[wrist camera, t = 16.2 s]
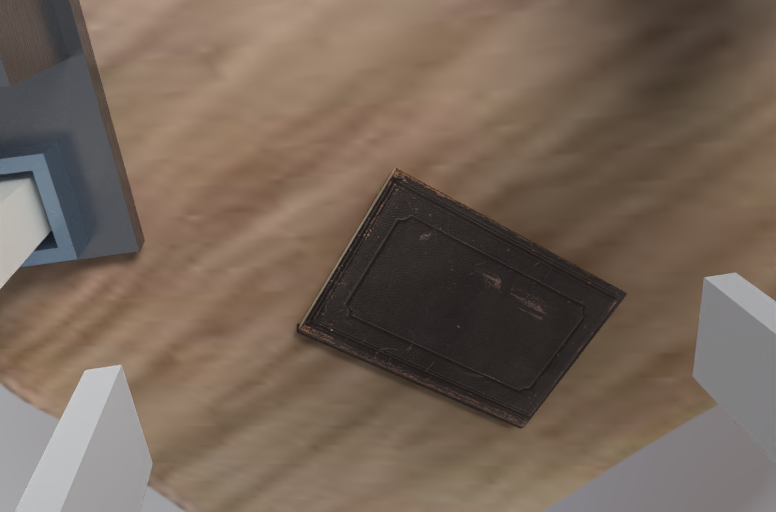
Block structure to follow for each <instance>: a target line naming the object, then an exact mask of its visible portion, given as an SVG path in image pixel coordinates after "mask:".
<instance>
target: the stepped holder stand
mask: <svg viewBox="0 0 776 512" xmlns="http://www.w3.org/2000/svg"><path fill="white" fill-rule="evenodd" d="M25 171H33V174H34V177H35V180H36V183H37V186H38V189H39V192H40V195H41V198H42V201H43V204H44V207H45V210H46V213H47V216H48V219H49V222H50V225H51V228H52V230H51V231H50V232H49V234H48V235H47V236H46V237H45V238H44V239H43V241H42V242H41V243H40V244H39V245H38V246H37V247H36V249H35V250H34V251H33V252H32V253H31V254H30V255H29V257H28V258H27V259H26V260H25V261H24V262H23V264H22V265H21V266H20V267H19V268H23V267H30V266H37V265H44V264H51V263H59V262H66V261H73V260H80V259H88V258H95V257H102V256H109V255H117V254H124V253H131V252H138V251H140V249H141V247H142V245H143V243H144V241H145V240H144V237H143V233H142V229H141V226H140V222H139V218H138V215H137V211H136V207H135V204H134V200H133V196H132V193H131V189H130V185H129V182H128V178H127V174H126V171H125V167H124V163H123V160H122V156H121V153H120V149H119V145H118V142H117V138H116V134H115V131H114V127H113V123H112V120H111V116H110V112H109V109H108V105H107V101H106V98H105V94H104V90H103V87H102V83H101V79H100V76H99V72H98V68H97V65H96V61H95V57H94V54H93V50H92V46H91V43H90V39H89V35H88V32H87V28H86V25H85V21H84V17H83V14H82V10H81V6H80V3H79V0H0V175H1V174H9V173H17V172H25Z"/></svg>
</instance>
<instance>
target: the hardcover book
mask: <svg viewBox="0 0 776 512" xmlns="http://www.w3.org/2000/svg"><path fill="white" fill-rule="evenodd" d="M626 295H627V293H625V292H624V291H622V290H620V289H618V288H616V287H614V286H613V285H611V284H609V283H607V282H605V281H603V280H601V279H600V278H598V277H596V276H594V275H592V274H590V273H589V272H587V271H585V270H583V269H581V268H579V267H578V266H576V265H574V264H572V263H570V262H568V261H566V260H565V259H563V258H561V257H559V256H557V255H555V254H554V253H552V252H550V251H548V250H546V249H544V248H543V247H541V246H539V245H537V244H535V243H533V242H531V241H530V240H528V239H526V238H524V237H522V236H520V235H519V234H517V233H515V232H513V231H511V230H509V229H508V228H506V227H504V226H502V225H500V224H498V223H496V222H495V221H493V220H491V219H489V218H487V217H485V216H484V215H482V214H480V213H478V212H476V211H474V210H473V209H471V208H469V207H467V206H465V205H463V204H461V203H460V202H458V201H456V200H454V199H452V198H450V197H449V196H447V195H445V194H443V193H441V192H439V191H438V190H436V189H434V188H432V187H430V186H428V185H426V184H425V183H423V182H421V181H419V180H417V179H415V178H414V177H412V176H410V175H408V174H406V173H404V172H403V171H401V170H399V169H397V168H396V169H393V171H392V172H391V174H390V176H389V177H388V179H387V181H386V182H385V184H384V186H383V187H382V189H381V191H380V192H379V194H378V196H377V197H376V199H375V201H374V202H373V204H372V206H371V207H370V209H369V211H368V212H367V214H366V216H365V217H364V219H363V221H362V222H361V224H360V226H359V227H358V229H357V231H356V232H355V234H354V235H353V237H352V239H351V240H350V242H349V244H348V245H347V247H346V249H345V250H344V252H343V254H342V255H341V257H340V259H339V260H338V262H337V264H336V265H335V267H334V269H333V270H332V272H331V274H330V275H329V277H328V279H327V280H326V282H325V284H324V285H323V287H322V289H321V290H320V292H319V294H318V295H317V297H316V299H315V300H314V302H313V304H312V305H311V307H310V309H309V310H308V312H307V314H306V315H305V317H304V319H303V320H302V322H301V324H297V332H298V333H300V334H302V335H304V336H306V337H309V338H311V339H313V340H316V341H318V342H320V343H323V344H325V345H327V346H330V347H332V348H334V349H337V350H339V351H341V352H344V353H346V354H348V355H351V356H353V357H355V358H358V359H360V360H362V361H365V362H367V363H369V364H372V365H374V366H376V367H379V368H381V369H383V370H385V371H388V372H390V373H392V374H395V375H397V376H399V377H402V378H404V379H406V380H409V381H411V382H413V383H416V384H418V385H420V386H423V387H425V388H427V389H430V390H432V391H434V392H437V393H439V394H441V395H444V396H446V397H448V398H451V399H453V400H455V401H457V402H460V403H462V404H464V405H467V406H469V407H471V408H474V409H476V410H478V411H481V412H483V413H485V414H488V415H490V416H492V417H495V418H497V419H499V420H502V421H504V422H506V423H509V424H511V425H513V426H516V427H518V428H523V427H525V425H526V424H527V423H528V421H529V420H530V419H531V418H532V416H533V415H534V414H535V412H536V411H537V410H538V408H539V407H540V406H541V405H542V403H543V402H544V401H545V399H546V398H547V397H548V396H549V394H550V393H551V392H552V390H553V389H554V388H555V386H556V385H557V384H558V383H559V381H560V380H561V379H562V377H563V376H564V375H565V374H566V372H567V371H568V370H569V368H570V367H571V366H572V365H573V363H574V362H575V361H576V359H577V358H578V357H579V355H580V354H581V353H582V352H583V350H584V349H585V348H586V346H587V345H588V344H589V343H590V341H591V340H592V339H593V337H594V336H595V335H596V333H597V332H598V331H599V330H600V328H601V327H602V326H603V324H604V323H605V322H606V321H607V319H608V318H609V317H610V315H611V314H612V313H613V312H614V310H615V309H616V308H617V306H618V305H619V304H620V302H621V301H622V300H623V299H624V297H625V296H626Z"/></svg>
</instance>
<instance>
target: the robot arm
mask: <svg viewBox="0 0 776 512" xmlns="http://www.w3.org/2000/svg"><path fill="white" fill-rule="evenodd" d="M693 378H694V379H695V380H696V381H697V382H698V383H699V384H700V385H701V386H702V387H703V388H704V389H705V390H706V391H707V392H708V394H709V395H710V396H711V397H712V398H713V399H714V400H715V401H716V402H717V403H718V404H719V405H720V406H721V407H722V408H723V410H724V411H725V412H726V413H727V414H728V415H729V416H730V417H731V418H732V419H733V420H734V421H735V422H736V423H737V424H738V425H739V426H740V427H741V429H742V430H743V431H744V432H745V433H746V434H747V435H748V436H749V437H750V438H751V439H752V440H753V441H754V442H755V444H756V445H757V446H758V447H759V448H760V449H761V450H762V451H763V452H764V453H765V454H766V455H767V456H768V457H769V458H770V460H772V462H773V463H774V464H775V465H776V301H774V300H773V299H772V298H770V297H769V296H767V295H766V294H765V293H763V292H762V291H761V290H759V289H758V288H756V287H755V286H754V285H752V284H751V283H750V282H748V281H747V280H745V279H744V278H743V277H741V276H740V275H738V274H737V273H729V274H723V275H716V276H709V277H704V282H703V291H702V300H701V308H700V317H699V326H698V334H697V343H696V352H695V360H694V369H693ZM152 465H153V463H152V459H151V456H150V453H149V450H148V447H147V444H146V440H145V437H144V434H143V431H142V428H141V425H140V421H139V418H138V415H137V412H136V409H135V406H134V403H133V399H132V396H131V393H130V390H129V387H128V384H127V380H126V377H125V374H124V371H123V368H122V365H116V366H109V367H103V368H96V369H89V370H85V371H84V373H83V375H82V377H81V379H80V381H79V383H78V385H77V387H76V389H75V391H74V393H73V395H72V397H71V399H70V401H69V403H68V405H67V407H66V409H65V411H64V413H63V415H62V417H61V419H60V421H59V423H58V426H57V427H56V429H55V431H54V434H53V436H52V438H51V440H50V442H49V444H48V446H47V448H46V450H45V452H44V454H43V456H42V458H41V460H40V462H39V464H38V466H37V468H36V470H35V472H34V474H33V476H32V478H31V480H30V482H29V484H28V486H27V488H26V490H25V492H24V494H23V496H22V498H21V500H20V502H19V504H18V506H17V508H16V510H15V512H140V509H141V505H142V501H143V498H144V494H145V491H146V487H147V483H148V480H149V476H150V472H151V469H152Z"/></svg>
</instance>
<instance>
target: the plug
mask: <svg viewBox="0 0 776 512" xmlns="http://www.w3.org/2000/svg"><path fill="white" fill-rule="evenodd" d="M51 230H52V228H51V225H50V222H49V219H48V216H47V213H46V210H45V207H44V204H43V201H42V198H41V195H40V192H39V189H38V186H37V183H36V180H35V177H34V174H33V171H25V172H17V173H9V174H1V175H0V289H1V288H2V287H3V285H4V284H5V283H6V282H7V281H8V280H9V278H10V277H11V276H12V275H13V274H14V273H15V272H16V270H17V269H18V268H19V267H20V266H21V265H22V264H23V262H24V261H25V260H26V259H27V258H28V257H29V255H30V254H31V253H32V252H33V251H34V250H35V249H36V247H37V246H38V245H39V244H40V243H41V242H42V241H43V239H44V238H45V237H46V236H47V235H48V234H49V232H50V231H51Z"/></svg>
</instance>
